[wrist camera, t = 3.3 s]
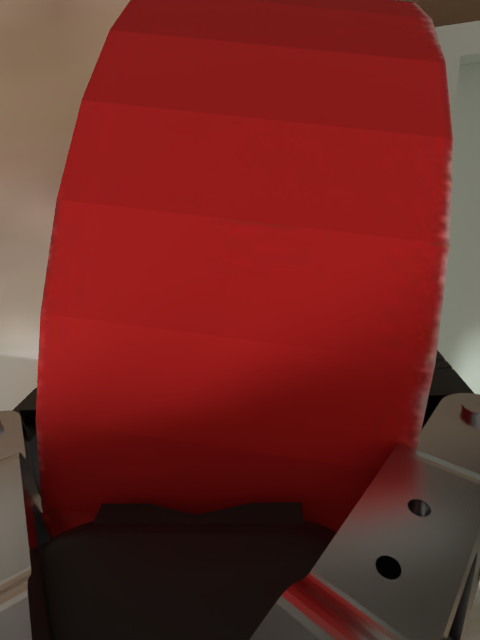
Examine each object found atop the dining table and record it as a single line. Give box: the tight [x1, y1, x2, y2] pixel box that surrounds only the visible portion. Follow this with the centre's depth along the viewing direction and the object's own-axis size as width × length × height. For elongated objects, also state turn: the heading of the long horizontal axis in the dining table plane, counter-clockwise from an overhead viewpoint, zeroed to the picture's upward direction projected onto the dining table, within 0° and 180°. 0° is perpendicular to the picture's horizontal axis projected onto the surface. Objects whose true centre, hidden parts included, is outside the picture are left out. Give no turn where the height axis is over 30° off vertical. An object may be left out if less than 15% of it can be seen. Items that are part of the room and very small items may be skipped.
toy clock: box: [36, 0, 453, 537], centre depth 15 cm, size 20×6×20 cm, turn 174°
